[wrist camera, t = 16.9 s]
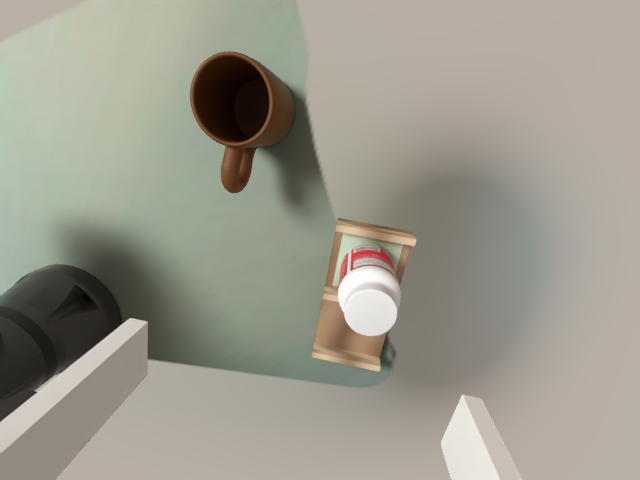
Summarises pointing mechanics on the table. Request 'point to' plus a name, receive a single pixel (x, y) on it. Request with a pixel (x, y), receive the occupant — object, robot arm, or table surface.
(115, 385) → the robot arm
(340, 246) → the notch board
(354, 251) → the pill bottle
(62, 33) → the table surface
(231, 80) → the mug
